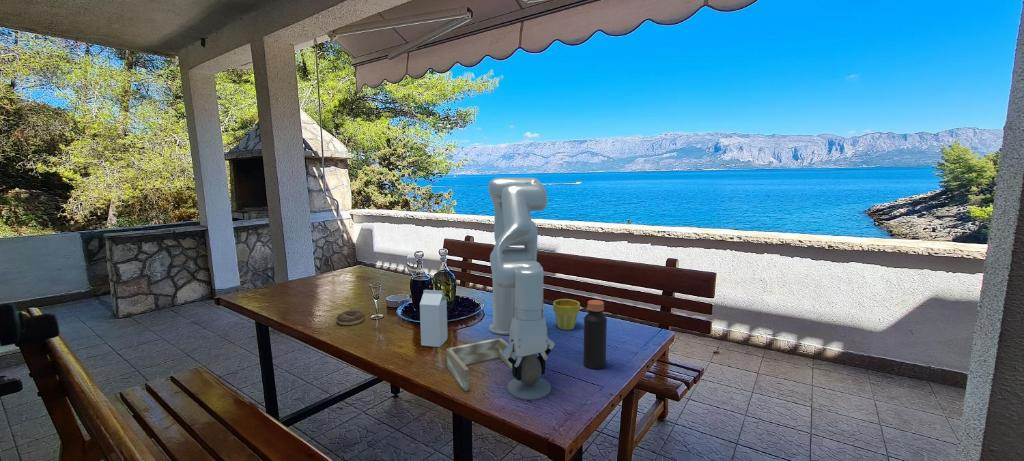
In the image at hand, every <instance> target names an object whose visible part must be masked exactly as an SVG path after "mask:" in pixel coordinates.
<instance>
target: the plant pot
mask: <svg viewBox="0 0 1024 461" xmlns="http://www.w3.org/2000/svg"><path fill="white" fill-rule="evenodd" d="M552 305H553V306H552V308H553V309H552V310H553V312H554V315H555V321H556V326H557V328H559V329H560V330H565V331H569V330H573V329H575V326H576V322H577V318H578V314H579V313H580V310H581V303H580V302H579V301H577V300H575V299H570V298H569V299H568V298H561V299H556V300H553V304H552Z"/></svg>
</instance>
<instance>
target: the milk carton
mask: <svg viewBox="0 0 1024 461" xmlns="http://www.w3.org/2000/svg"><path fill="white" fill-rule="evenodd" d="M447 307H448V304H447V298H446V296H445V294H444V291H443V290H433V289H432V290H431V289H423V293H422V296H421V300H420V302H419V321H420V322H419V323H420V345H421V346H424V347H435V348H440V347H441V348H442V346H443V345H444V343H445V342H446V341H447V340H448V310H447V309H448V308H447Z"/></svg>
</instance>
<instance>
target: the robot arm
mask: <svg viewBox="0 0 1024 461" xmlns="http://www.w3.org/2000/svg"><path fill="white" fill-rule="evenodd" d="M488 194H489V197H490V200H491V202H492V205H493V210H494V211H493V212H494V226H493V228H494V232H493V234H494V236H493V237H494V241H495V244H494V246H493V249H492V251H491V253H490V255H489V261H490V262H489V264H490V270H491V276H492V280H491V281H492V323H490V324H489V325H488V330H489V332H491V333H492V334H497V335H504V336H505V335H507V336H508V335H509V339H508V344H509V345H508V346H507V348H506V349H505V350H504V351H503V352H502V355H503V356H504V357H505V358H506V359H507V360H508V361H509V362H510V363H511V364H512V369H511V371H512V372H511V374H512V377H513V378H516V379H517V380H518V381H520V380H521V367H520V366H519V364H520V361H521V359H522V357H524V356H528V355H533V354H535V355H536V354H538V356H537V358H538V359H539V361H540V363H541V367H542V372H541V375H545V373H546V361H547V360H548V356H549V355H550V353H551V352H552V349H553V348H554V346H555V345H556V343H555V342H554V341H553V340H552V339H550V338H549V337H548V336H549V335H548V326H547V320H546V317H545V315H544V312H546V311H547V310H548V309H547V306H546V305H544V276H545V275H544V268H543V266H542V265H541V263H540V262H538V261H537V257H538V239H539V238H538V237H539V236H538V235H539V234H538V233H539V232H538V227H537V224H536V223H535V222H534V221H533V220H532V217H531V212H541V211H544V210H546V209H547V205H548V194H547V189H546V188H545V186H544V185H543V183H542V182H541V181H540V180H539V179H538V178H535V177H512V176H511V177H494V178H493V179H491V180H489V183H488ZM519 246H520V247H519ZM511 352H514V353H513V356H512V357H511V356H510V355H509V354H510V353H511Z"/></svg>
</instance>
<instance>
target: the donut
mask: <svg viewBox="0 0 1024 461" xmlns="http://www.w3.org/2000/svg"><path fill="white" fill-rule="evenodd" d="M365 317H366V316H365V313H364V312H363V311H361V310H359V309H349V310H345V311H342V312H340V313H338V314H337V317H336V321H337V323H338V324H339V325H342V326H354V325H358V324H360V323H362V322H363V321H364V319H365Z"/></svg>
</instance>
